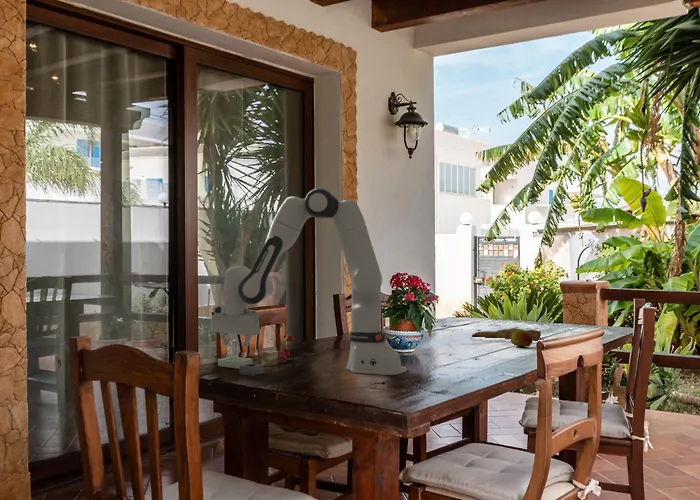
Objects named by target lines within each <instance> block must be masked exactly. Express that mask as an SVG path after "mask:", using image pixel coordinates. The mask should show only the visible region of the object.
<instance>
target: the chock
mask: <svg viewBox="0 0 700 500" xmlns="http://www.w3.org/2000/svg"><path fill="white" fill-rule="evenodd" d="M278 351H279V350H269V349H268V350H264V351H261V362H260V363H261V364H260V365H264V366H266V367H267V366H268V367H270V366H271V367H272V366H277V365H278V363H279V362H278Z"/></svg>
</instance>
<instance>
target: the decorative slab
mask: <svg viewBox="0 0 700 500" xmlns="http://www.w3.org/2000/svg"><path fill="white" fill-rule="evenodd" d="M516 330H521V331H528V332H530V334H531V336H532V340H534V341H538V340H539V338H540V336H541V337H542V335H541V334H542V333H541V330H536V329H526V330H525V329H523V328H522V329H521V328H516V327H511V328H508V329H505V328H503V329H499V330H495V331H491V330H489V331H484V330H483V331H477V332H475V333H472V334H471V338H472V337H485V338H505V339H511V336H512V334H513V332H514V331H516ZM540 339H541V338H540ZM539 341H540V340H539Z"/></svg>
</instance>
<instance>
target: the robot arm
mask: <svg viewBox="0 0 700 500" xmlns="http://www.w3.org/2000/svg"><path fill="white" fill-rule="evenodd" d="M309 218H314V219H319V220H323V219H327V218H328V219H331V220H332V221H333V223H334V226H335V229H336V233H337V237H338V239H339V242H340V246H341V250H342V253H343V256H344V259H345V264H346V267H347V271H348V274H349V277H350V281H351V303H350V304H351V316H350V317H351V318H350V325H351V326H350V327H351V328H350V331H349V345H350V346H349V347H350V348H349V355H348V361H347V365H346V367H345V368H346V369H347V371H350V372H351V373H354V374H355V373H357V374H368V375H370V374H371V375H385V376H395V375H396V376H397V375H401V374H404V373H406V372H408V368H407V367H406V366H402V362H401V356H400V354H399V353H398V351H396V350H395V349H394V348H393V347H392V346H391V345H389V344H388V343H387V342H386V338H387V337H388V336H387V335H388V334H387V333H384V332H382V328H381V327H382V303H381V302H382V295H381V293H382V292H381V287H382V283H383V276H382V272H381V269H380V266H379V264H378V260H377V259H378V258H377V257H376V254H375V251H374V247H373V245H372V240H371V236H370V235H369V230H368V227H367V224H366V221H365V218H364V215H363V213H362V211H361V209H360V207H359V205H358V203H357V202H356V201H355V200H353V199H344V200H338V199H337V198H336V197H335V196H334V194H333V193H332V192H331V191H330V190H328V189H325V188H321V187H316V188H314V189H312V190H310V191H309V192H308V193H306V195H305V198H301V197H298V196H293V195H292V196H288V197H286V199H285V200H284V201H283V202H282V203H281V205H280V207H279V208H278V210H277V212H276V214H275V216H274V218H273V220H272V223H271V225H270V228H269V230H268V232H267V236H266V238H265V241H264V244H263V247H262V248H261V251H260V253H259V255H258V256H257V258H256V261H255V263H254V264H253V267H252V268H251V269H249V268H248V267H247V266H245V265H239V266H233V267H230V268H228V269H227V270H226V271H225V275H224V285H223V289H224V299H223V304H221V305H218V306H214V307H213V309H212V312H213V313H214V314H213V315H212V319H211V330H212V331H213V333H219V336H220V338H221V340H222V345H223V346H228V345H229V339H228V338H227V334H233V335H242V336H244V338H245V339H244V341H242V347H244V348H249V342H250V340H251V339H252V336H257V335H259V334H260V331H261V329H260V328H261V327H260V321H259V318H260V317H259V316H260V315H259V313H258V312H257V311H256V310H255V309H248V308H249V307H248V304H249V305H256V304H258V303H261V302H263V301H265V300H266V299H268V298H269V297H270V296H271V295H272V293H273V291H274V285H273V282H272V280H271V279H270V278H269V275H270V274H271V272H272V270H273V267H274V266H275V263H276V262H277V260H278V259H279V257H280V256H281V255H282V254H283V253H285V252H286V251H287V250H288V249H290V248H292V246H293V245H294V244H295V243H296V241H297V239H298V238H299V236H300V234H301V232H302V230H303V227H304V226H305V223H306V221H307V220H308V219H309Z"/></svg>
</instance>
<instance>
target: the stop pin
mask: <svg viewBox="0 0 700 500" xmlns="http://www.w3.org/2000/svg"><path fill="white" fill-rule="evenodd" d="M239 344H240V343H239V339H232V340H231V357H232V361H238V357H239V351H240V350H239V349H240V348H239V347H240V346H239Z"/></svg>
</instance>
